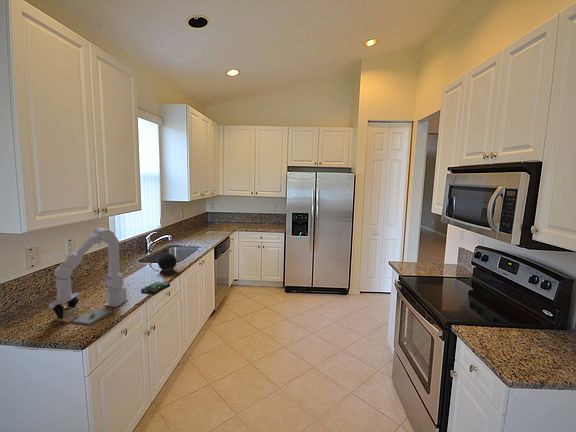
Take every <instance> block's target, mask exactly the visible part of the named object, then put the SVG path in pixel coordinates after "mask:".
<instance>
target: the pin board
mask: <svg viewBox="0 0 576 432" xmlns="http://www.w3.org/2000/svg"><path fill="white" fill-rule="evenodd" d="M112 313H113V310H109V309H108V310H107V309H102V308H94V307H92V308H91V309H90V310H89V312H87V313H85V314H83V315H81V316H79V317H78V318H76V319H74V320H72V321H71V322H72V323H73V324H76V325H77V324H78V325H85V326H91V325H93V324H94V323H96V322H98V321H100V320H101V319H104V318H105V317H106V316H109V315H110V314H112Z"/></svg>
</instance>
